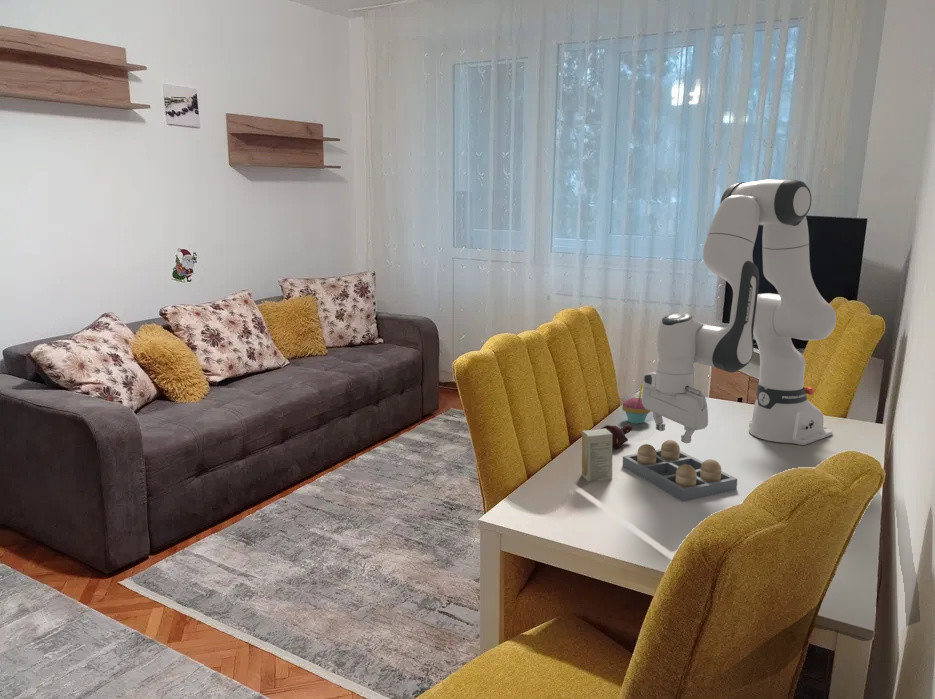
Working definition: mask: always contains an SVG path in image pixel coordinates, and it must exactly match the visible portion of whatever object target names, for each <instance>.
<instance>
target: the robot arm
mask: <svg viewBox="0 0 935 699" xmlns="http://www.w3.org/2000/svg"><path fill="white" fill-rule="evenodd" d="M811 206H812V192H811V190H810V188H809V187H808V185H807V184H806V183H805V182H804V181H802V180H799V179H792V178H789V179H773V178H772V179H762V180H754V181H749V182H744V181H742V182H736V183H734V184H732V185H730V186H728V187H727V188H726V189H725V191H724V192H723V193H722V195H721V198H720V203H719V206H718V208H717V210H716V211H715V214H714V216H713V218H712V221H711V225H710V227H709V229H708V232H707V235H706V237H705V238H706V239H705V241H704V242H705V243H704V246H703V250H702V252H703V253H702V256H703V257H702V258H703V261H704V263H705V265H706V267H707V269H709V270H710V271H711V272H712V273H713V274H714V275H716V276H717V277H718V278H721V279H723V280H724V281H726V282H727V283H728V284H729V285H730V286H731V289H732V302H731V309H730V316H729V323H728V325H727V326H726V327H723V326H722V327H721V326H715V325H711V324H708V323H707V324H706V323H703V322H700V321H699V320H698V321H697V319H695V318H694V315H692V314H691V313H686V312H677V313H675V312H674V313H669V314H668V315H665V316H664V317H663V318H661V320H660V323H659V326H658V330H657V335H656V336H657V337H656V339H657V340H656V355H657V363H656V367H655V371H653V372H648V373H645V374H642V377H641V378H642V379H641V381H643V382H642V384H643V386H642V394H641V398H642V404H643V406H644V408H645V409H647V410H650V412H652V418H653V420H654V423H655V430H657V431H658V432H663V431H665V430H666V423H664V421H663V418H666V419H667V420H670V421H672V422H673V423H674V422H675V423H677V424H679V425H681V426H683V430H684V431H685V432H684V434H681V436H680V438H681V439H680V441H681V442H682V443H684V444H690V443H691V442H692V436H693V434H694V432H695V431H700V430H701V431H702V430H705V429H706V428H707V426H708V425H709V412H708V410H709V409H708V404H707V398H706V396H705V395H704V394H703V392H702V390H699V389H695V370H696V369H695V366H694V365H695V363H697V364H700V365H705V366H709V367H713V368H716V369H718V370H721V371H724V372H727V373H731V374H732V373H737V372H738V371H740V370H742V369H743V368H744V367H746V366H747V365H749V363H750V362H751V360H752V358H753V354H754V339H755V342H756V345H757V347H758V350H759V351H758V352H759V379H758V381H759V382H758V383H757V384H756V394H755V395H756V398H755V399H756V400H755V402H754V408H753V413H752V418H751V420H750V421H749V423H748V424H749V428H748V433H749V434H751V435H752V436H754V437H756V438H758V439H762V440H764V441H769V442H775V443H783V444H784V443H785V444H795V445H800V446H804V445H808V444H811V443H813V442H816V441H819V440H821V439H824V438H827V437H829V436H832V435H833V430H832V429H831V428H829V427H828V426H826V425H824V414H823V412H822V411H821V410H820V409H819V408H818V407H816V406H815V405H814V404H813V403H812V402H810V400H808V396H807V394H808V395H810V396H813V395H814V394H815V392H816V391H815V388H814V387H810V386H806V387H805V386H804V381H805V374H806V373H805V372H806V359H805V357H804V356H803V354H802V353H800V351H798V349H797V348H796V346H795V345H794V343H793V341H792V339H797V340H801V341H821V340H822V341H823V340H824V339H826V338H828V337H829V336H830V335H832V333H833V331H834V330H835V328H836V325H837V314H836V313H837V312H836V310H835V309H834V307H833V305H832V304H830V303H828V302H827V300H825V298H824V297H823V296H822V295H821V293H820V292H819V290H818V288H817V287H816V284H815V282H814V279H813V275H812V272H811V262H810V260H811V259H810V235H809V234H810V233H809V226H808V220H807V215H808V214H809V211H810V209H811ZM759 226H762V237H761V238H762V240H761V243H762V244H761V246H762V247H761V248H762V272H763V274H762V275H763V276H764V278H765V279H766V280H767V281H768V282H769V283H770V284H771V285H772V286H774V288H775V289H776V291H777V293H771V292H768V293H767V292H765V293H759V288H760V287H759V286H760V273H759V267H758V266H757V265H756V264H755V263H754V260H753V258H754V257H753V254H754V253H753V252H754V247H755V243H756V240H757V236H758V230H759Z"/></svg>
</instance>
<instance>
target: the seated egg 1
mask: <svg viewBox="0 0 935 699" xmlns="http://www.w3.org/2000/svg"><path fill="white" fill-rule="evenodd" d="M656 450H657V449H656V448H655V447H654V446H653V445H651V444H648V443H646V444H642V445H640V446H639V447H638V449H637V452H636V454H637V462H639V463H640V464H642V465H649V464H655V463H656Z"/></svg>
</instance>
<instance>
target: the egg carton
mask: <svg viewBox="0 0 935 699" xmlns="http://www.w3.org/2000/svg"><path fill="white" fill-rule="evenodd" d="M655 450H656V463H655V464H649V465H642V464H640V463H639V462H637V453H634V454H628V455H627V454H626V455H623V456H622V467H623V468H625V469H627V470H629V471H630V472H632V473H634V474H635V475H637V476H638V477H639V478H642V479H644V480H645V481H647V482H649V483H651V484H652V485H654V486H656V488H659V489H661V490H662V491H664V492H666V493H668V494H669V495H671V496H672V497H674V498H676V499H678V500H679V501H681V502H687V501H691V500H692V501H693V500H697V499H700V498H705V497H709V496H714V495H718V494H722V493H723V494H724V493H727V492H733V491H737V490H738V489H737V488H738V478H736V477H734V476H733V475H730V474H728V473H727V472H724V471H722V470H721V480H719V481H715V482H710V483H709V482H707V481H705V480H704V479H702V478H700V471H701V465H702V463H703V462H704V461H702V460H700V459H698V458H695V457H694V456H692V455H690V454H688V453H686V452H684V451H682V450H680V456H679V459H675V460H670V461H667V460H666V459H664V458H662V457H661V448H659V449H655ZM684 464H688V465H691V466H692V467H693V468H694V469H695V470H696V474H697V477H696V486H691V487H687V488H683V487H681V486H679V485H678V484H676V483H675V479H676V470H677V468H678V467H679V466H681V465H684Z"/></svg>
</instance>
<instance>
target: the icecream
mask: <svg viewBox="0 0 935 699" xmlns="http://www.w3.org/2000/svg"><path fill="white" fill-rule="evenodd" d="M604 428H606V429H607V430H608V431H610V432H611V433H612V450H618V449H621V448H622V447H623V445H624V444H625V443H626V442H628V440H629V439H628V437H627V436H626V435H628V434H629V433H631V431H632V430H633V426H632V425H631V424H626V425H624V426H622V427H621V428H620V427H619V426H617V425H609V424H607V425H604V426H602V427H601V428H600V429H604Z"/></svg>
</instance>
